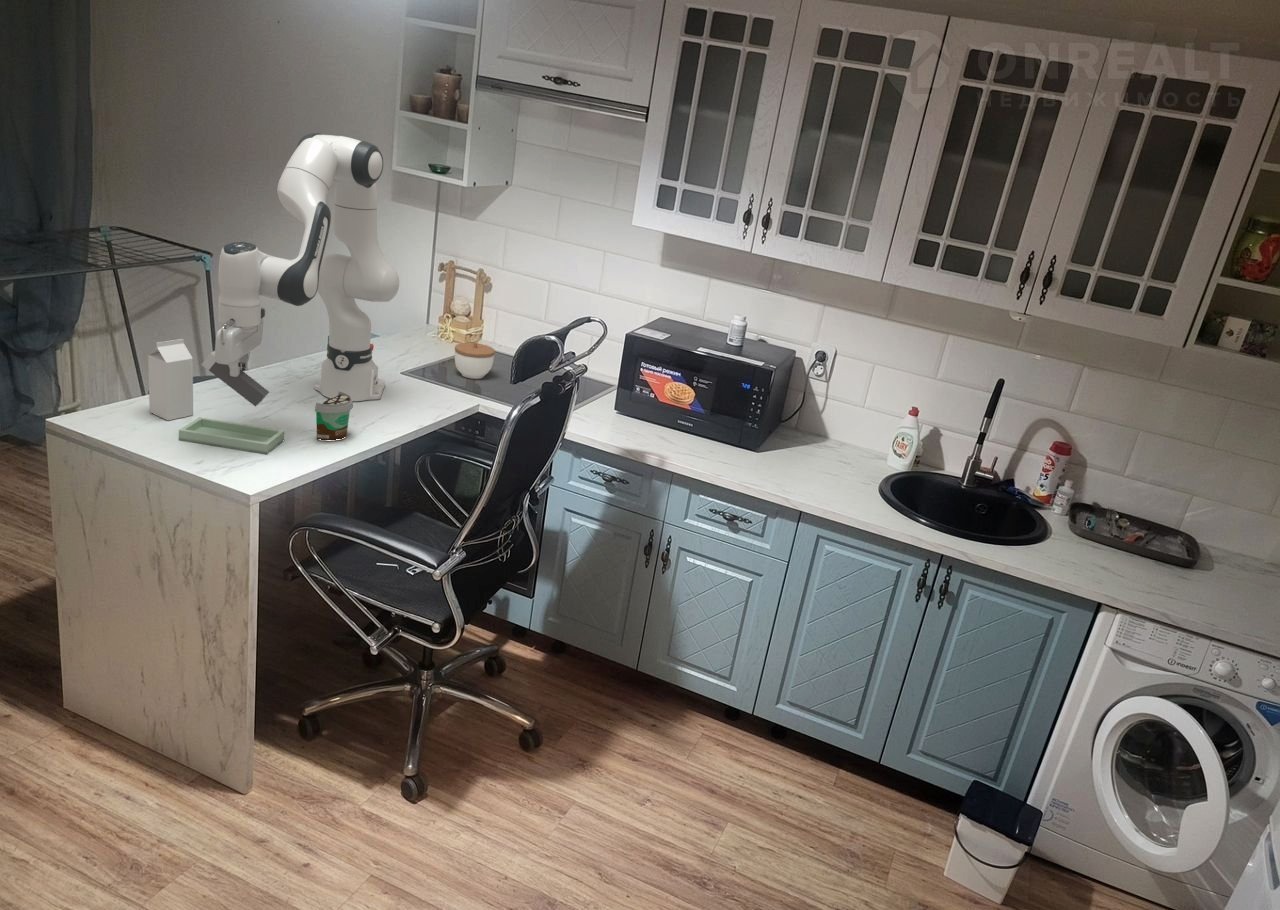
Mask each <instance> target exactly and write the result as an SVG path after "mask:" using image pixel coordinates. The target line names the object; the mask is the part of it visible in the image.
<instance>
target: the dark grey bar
mask: <svg viewBox="0 0 1280 910" xmlns="http://www.w3.org/2000/svg"><path fill="white" fill-rule="evenodd" d="M201 366H202V367H203V368H204V369H206V370H207V371H209V372H210V373H212V374H213V375H214V376H215V377H217V379H219V380H221V381H222V382H223V383H224V384H226V385H227V386H228V387H229V388H231V389H232V390H234V391H235V392H236V393H237V394H239V395H240V396H241V397H242V398H244V399H245V400H246V401H248V402H249V403H250V404H251V405H253V406H254V407H257V406H258V405H259V404H261V402H263V400H264V399H265V398H266V396H267V395H268V394H269V393H270V391H269V390H268V389H266V388H265V387H264V386H262V385H261V384H260V383H259V382H257V380H255V379H254V378H252V377H251V376H249V374H247V373H246V372H245V371H242V370H241V369H240V374H239V375H238V376H237V377H234V376H230V368H229V366H228V365H226V364H219V363H217V362H216V360H215V350H213V351H212V352H210V353H209V354H208V356H207V357H206V358H205V359H204V361H203V362H202V363H201Z"/></svg>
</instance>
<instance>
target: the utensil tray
mask: <svg viewBox="0 0 1280 910" xmlns="http://www.w3.org/2000/svg"><path fill="white" fill-rule="evenodd" d="M285 431H286V430H281V429H277V428H276V429H275V428H270V427H262V426H256V425H250V424H245V423H237V422H233V421H232V422H231V421H225V420H219V419H213V418H208V417H201V416H199V417H197V418H195V419H194V420H193V421H191V422H188V423H187V424H186V425H184V426H183V427H181V428H180V429H178V441H182V442H189V443H194V444H201V445H208V446H212V447H213V446H214V447H220V448H227V449H230V450H232V449H233V450H237V451H243V452H244V451H245V452H250V453H251V452H252V453H255V454H256V453H257V454H262V455H268V454H269V452H270V453H271V452H272V451H274V449H276V448H277V447H278V446H279V445H281V444H282V443H283V442H284V441H285ZM283 440H284V441H283ZM282 441H283V442H282ZM281 442H282V443H281ZM280 443H281V444H280ZM277 445H278V446H277ZM276 446H277V447H276ZM275 447H276V448H275Z"/></svg>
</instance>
